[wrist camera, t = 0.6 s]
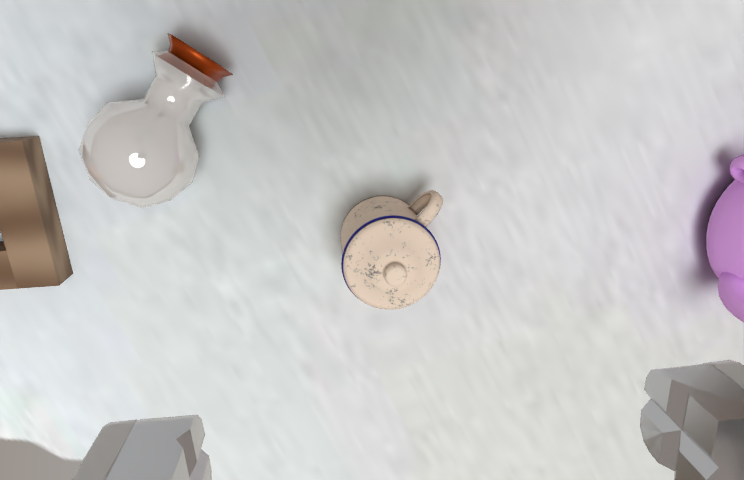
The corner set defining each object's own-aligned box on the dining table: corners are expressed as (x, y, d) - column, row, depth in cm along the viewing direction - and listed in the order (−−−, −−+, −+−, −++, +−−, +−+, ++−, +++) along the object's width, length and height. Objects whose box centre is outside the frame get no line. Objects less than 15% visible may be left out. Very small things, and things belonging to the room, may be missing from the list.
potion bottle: (124, 183, 53) (197, 52, 51) (186, 234, 49) (267, 96, 47) (36, 161, 44) (121, 3, 42) (104, 220, 41) (199, 51, 39)
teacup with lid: (384, 289, 58) (400, 343, 47) (320, 240, 55) (321, 284, 44) (459, 208, 55) (493, 245, 44) (395, 153, 53) (415, 177, 42)
